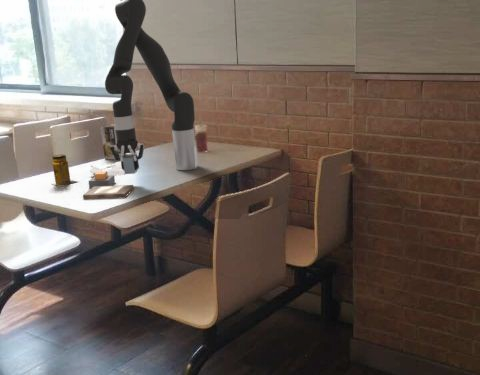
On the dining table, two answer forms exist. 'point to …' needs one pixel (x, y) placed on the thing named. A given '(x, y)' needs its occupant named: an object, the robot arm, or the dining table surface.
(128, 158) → the grey rectangular box
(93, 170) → the paper
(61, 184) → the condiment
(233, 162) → the dining table surface
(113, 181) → the button housing
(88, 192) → the drawing board
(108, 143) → the coffee box
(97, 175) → the button
